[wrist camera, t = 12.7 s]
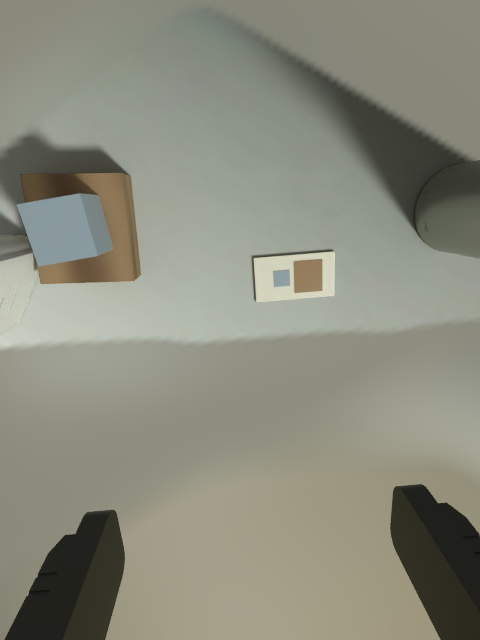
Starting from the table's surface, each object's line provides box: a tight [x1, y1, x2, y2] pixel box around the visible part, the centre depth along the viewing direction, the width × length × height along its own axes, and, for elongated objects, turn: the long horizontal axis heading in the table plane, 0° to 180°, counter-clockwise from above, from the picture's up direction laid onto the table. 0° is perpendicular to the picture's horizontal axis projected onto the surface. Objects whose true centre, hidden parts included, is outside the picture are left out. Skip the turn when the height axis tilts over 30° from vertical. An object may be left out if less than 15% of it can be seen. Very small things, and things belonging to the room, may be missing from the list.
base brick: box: [20, 173, 141, 284], centre depth 36 cm, size 9×10×4 cm
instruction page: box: [254, 251, 335, 302], centre depth 40 cm, size 9×5×1 cm, turn 94°
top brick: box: [17, 193, 113, 267], centre depth 31 cm, size 5×5×5 cm
